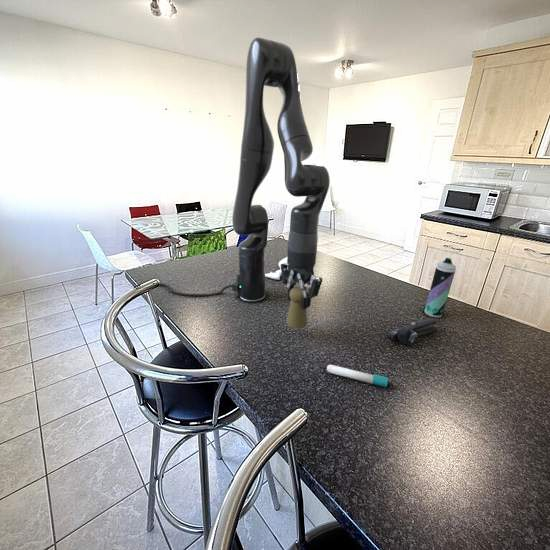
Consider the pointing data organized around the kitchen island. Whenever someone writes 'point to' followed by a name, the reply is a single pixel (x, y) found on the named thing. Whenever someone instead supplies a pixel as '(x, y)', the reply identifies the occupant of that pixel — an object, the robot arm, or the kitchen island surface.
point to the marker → (358, 375)
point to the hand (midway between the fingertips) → (298, 303)
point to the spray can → (440, 288)
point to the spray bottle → (278, 272)
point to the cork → (296, 309)
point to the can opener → (412, 331)
